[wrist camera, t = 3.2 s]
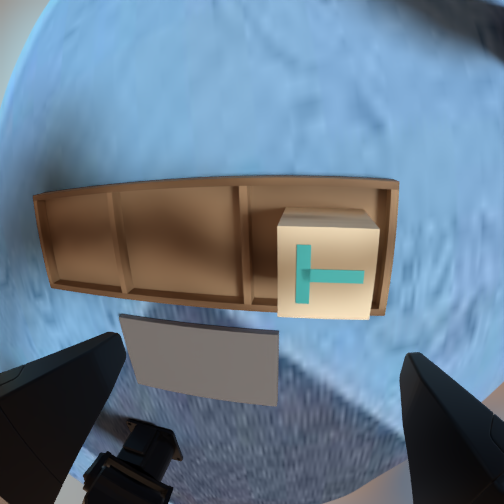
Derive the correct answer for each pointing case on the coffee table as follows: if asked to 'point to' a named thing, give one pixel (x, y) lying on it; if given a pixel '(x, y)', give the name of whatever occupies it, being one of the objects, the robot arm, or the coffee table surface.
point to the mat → (204, 359)
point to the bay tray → (197, 236)
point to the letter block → (326, 263)
